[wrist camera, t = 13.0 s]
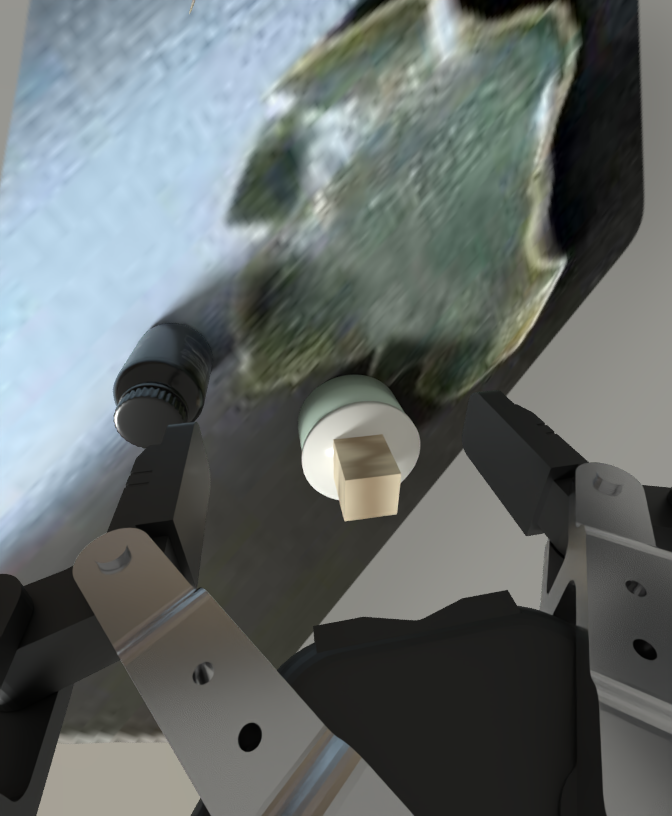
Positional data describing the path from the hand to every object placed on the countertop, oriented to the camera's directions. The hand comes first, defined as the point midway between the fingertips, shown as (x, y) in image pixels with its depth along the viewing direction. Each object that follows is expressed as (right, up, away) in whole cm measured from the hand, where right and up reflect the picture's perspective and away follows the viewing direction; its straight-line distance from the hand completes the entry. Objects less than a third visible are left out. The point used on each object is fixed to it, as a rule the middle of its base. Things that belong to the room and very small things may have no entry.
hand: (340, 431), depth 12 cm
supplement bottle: (-16, +6, +27) cm, 32 cm away
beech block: (+2, -4, +29) cm, 29 cm away
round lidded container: (+1, -1, +35) cm, 35 cm away
